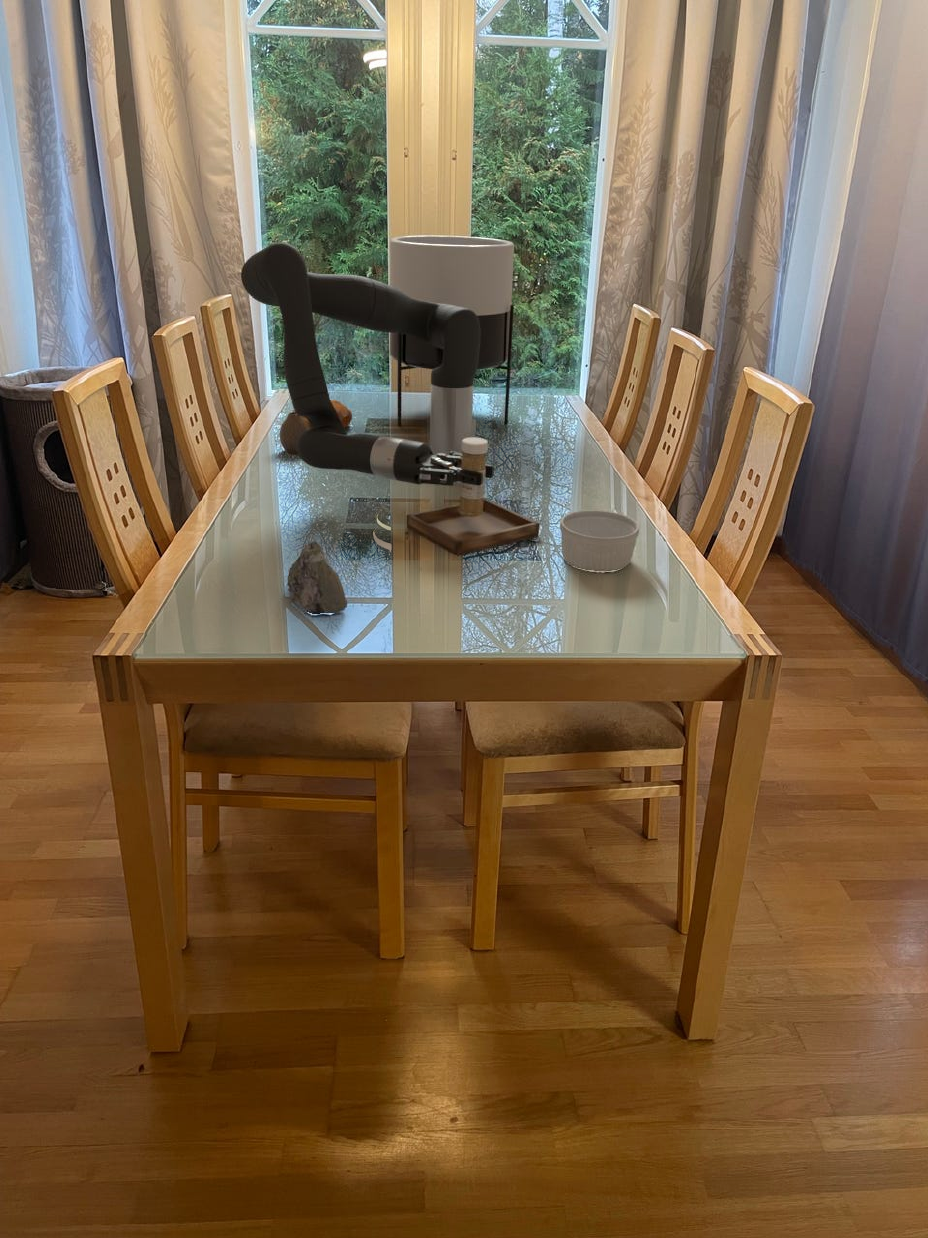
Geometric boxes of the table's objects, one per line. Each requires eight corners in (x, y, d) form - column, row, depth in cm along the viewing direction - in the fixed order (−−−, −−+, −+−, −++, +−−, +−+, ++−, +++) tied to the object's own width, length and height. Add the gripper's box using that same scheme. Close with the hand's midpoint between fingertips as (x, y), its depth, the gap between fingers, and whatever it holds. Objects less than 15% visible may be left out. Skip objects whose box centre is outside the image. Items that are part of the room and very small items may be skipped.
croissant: (361, 435, 232) (364, 403, 229) (320, 439, 219) (323, 405, 217) (318, 424, 239) (320, 393, 236) (275, 427, 226) (277, 394, 223)
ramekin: (615, 583, 149) (620, 543, 146) (543, 564, 155) (546, 525, 152) (646, 558, 160) (651, 520, 156) (577, 541, 166) (581, 504, 163)
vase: (305, 456, 206) (303, 417, 203) (275, 454, 208) (273, 415, 204) (315, 448, 213) (314, 410, 209) (287, 445, 214) (285, 408, 210)
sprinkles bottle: (453, 512, 166) (456, 439, 160) (469, 507, 169) (473, 434, 163) (472, 519, 163) (476, 445, 157) (488, 513, 166) (493, 440, 160)
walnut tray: (484, 510, 178) (485, 498, 177) (538, 536, 167) (539, 523, 166) (406, 527, 169) (406, 514, 168) (457, 556, 157) (458, 542, 156)
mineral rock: (294, 580, 147) (291, 520, 142) (361, 584, 146) (359, 525, 141) (271, 615, 135) (267, 551, 131) (343, 620, 134) (341, 556, 130)
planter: (529, 416, 246) (540, 241, 226) (463, 440, 222) (469, 248, 203) (435, 398, 261) (438, 233, 242) (364, 419, 238) (361, 238, 219)
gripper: (382, 449, 160) (472, 465, 154) (419, 431, 172) (504, 445, 166) (381, 490, 163) (470, 507, 158) (418, 469, 175) (501, 485, 169)
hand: (487, 475), depth 162 cm, fingers closed on sprinkles bottle, 4 cm apart
